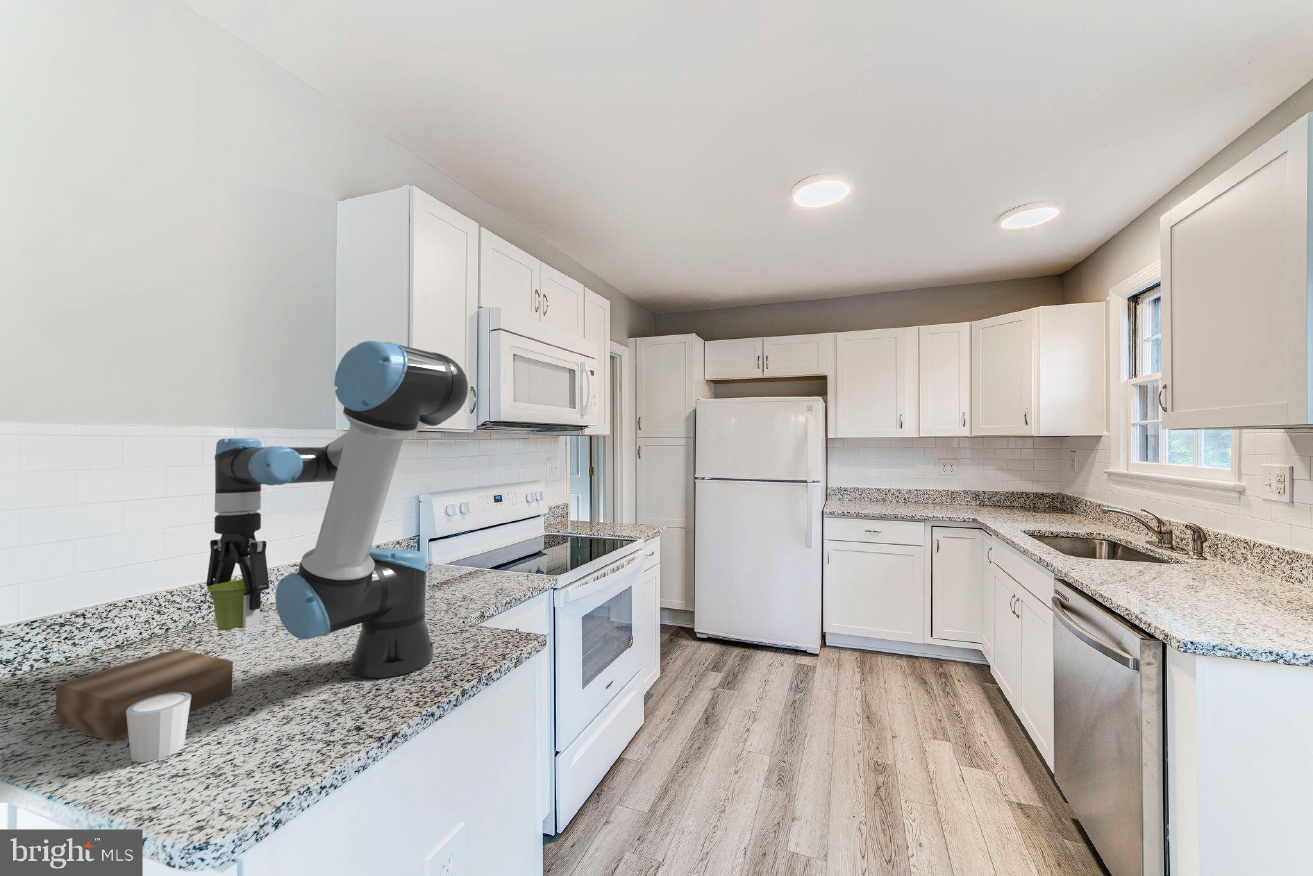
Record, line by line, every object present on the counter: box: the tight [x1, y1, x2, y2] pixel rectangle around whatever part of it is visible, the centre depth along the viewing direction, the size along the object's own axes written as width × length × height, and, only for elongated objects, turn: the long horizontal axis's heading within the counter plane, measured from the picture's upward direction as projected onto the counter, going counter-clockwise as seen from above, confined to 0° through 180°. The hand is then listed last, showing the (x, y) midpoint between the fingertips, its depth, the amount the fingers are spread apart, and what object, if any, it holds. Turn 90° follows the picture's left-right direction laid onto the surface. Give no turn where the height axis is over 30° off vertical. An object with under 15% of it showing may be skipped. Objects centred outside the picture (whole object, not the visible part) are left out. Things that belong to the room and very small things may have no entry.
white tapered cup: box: [126, 692, 191, 763], centre depth 76 cm, size 7×7×7 cm
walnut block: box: [54, 648, 234, 743], centre depth 89 cm, size 16×16×6 cm
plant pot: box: [206, 578, 253, 632], centre depth 108 cm, size 9×9×9 cm
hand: (236, 623), depth 108 cm, fingers closed on plant pot, 8 cm apart
